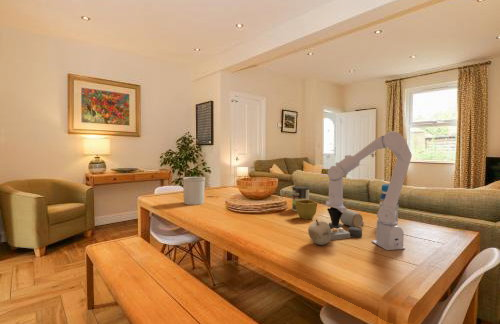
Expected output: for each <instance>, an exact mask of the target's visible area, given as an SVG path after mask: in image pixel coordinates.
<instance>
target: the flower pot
mask: <svg viewBox="0 0 500 324" xmlns="http://www.w3.org/2000/svg"><path fill="white" fill-rule="evenodd" d="M295 202H296V210H297V211H296V212H297V215H298V217H299V218H301V219H303V220H308V219H311V220H312V219H313V218H314V217H315V215H316V212H317V208H318V202H316V201H314V200H311V199H309V200H298V201H295Z"/></svg>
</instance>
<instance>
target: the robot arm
mask: <svg viewBox="0 0 500 324" xmlns="http://www.w3.org/2000/svg"><path fill="white" fill-rule="evenodd" d="M387 148H388V150H390V151H392V153H393V154H394V156H395V157H396V161H395V164H394V166H393V167H394V168H393V170H392V175H391V177H390V182H389V187H388V190H387V194H386V197H385V200H384V203H383V205H382V206H381V207H380V206H379V209H378V211H377V213H376V217H377V220H376V239H374V240H371V243H373V244H375V245H377V246H378V247H380V248H382V249H384V250H386V251H391V250H392V251H393V250H395V251H396V250H405V249H406V247H405V246H404V237H405V236H404V235H405V233H404V229H403V228H401V226H399V221H398V222H397V221H396V215H397V209H396V205H397V202H398V203H399V201H398V199H400V196H401V192H402V189H403V186H404V182H405V179H406V176H407V173H408V170H409V166H410V164H411V160H412V158H413V156H412V155H413V154H412V152H411V149H410V148H409V145H408V143H407V140H406V138H404V137H403V136H402V134H401V133H399V131H395V130H391V131H388V132H386V133H385V134H384V135H381V136H379V137H377V138H375V139H374V140H373V141H371V142H370V143H369V144H367V145H366V146H365V147H363V148H362V149H361V150H360V151H358V152H357V153H355V154H352V153H351V154H346V155H345V156H344V158H342V159H341V160H340V161H339V162H335V165H331V166H330V167H329V168H328V170H327V176H328V200H326V201H325V206H326V207H329V208H327V209H326V210H327V212H328V214H329V216H330V223H332V225H333V226H338V224H339V223H340V222H341V220H340V218H341V216H342V214H343V213H346V209H347V207H346V206H345V204H343V200H344V199H343V198H344V195H343V194H344V193H343V191H344V185H343V181H344V179H343V178H344V177H345V175H347V174H349V173H350V172H351V171H353V170H355V169H356V168H357V167H359V166H360V162H361V161H362V160H364V159H365V158H367V157H368V156H370V155H371V154H373V153H374V152H376V151H377V150H383V149H387Z"/></svg>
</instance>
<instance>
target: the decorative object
mask: <svg viewBox="0 0 500 324" xmlns="http://www.w3.org/2000/svg"><path fill="white" fill-rule="evenodd" d="M307 231H308V236H309V238H310V239H311V241H312V243H314V244H315V245H318V246H319V245H320V246H324V245H326V244H328V243H330V241H331V240H330V238H331V228H330V226H329V222H328V223H327V222H325V221H318V219H315V222H313V223H311V224H310V225H309V226H308V230H307Z"/></svg>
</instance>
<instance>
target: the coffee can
mask: <svg viewBox="0 0 500 324" xmlns="http://www.w3.org/2000/svg"><path fill="white" fill-rule="evenodd" d="M291 188H292V201H291V202H292V205H291V206H292V208H291V210H292V211H294V212H297V210H296V202H295V201H298V200H310V187H309V186H307V185H294V186H293V185H292V187H291Z"/></svg>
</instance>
